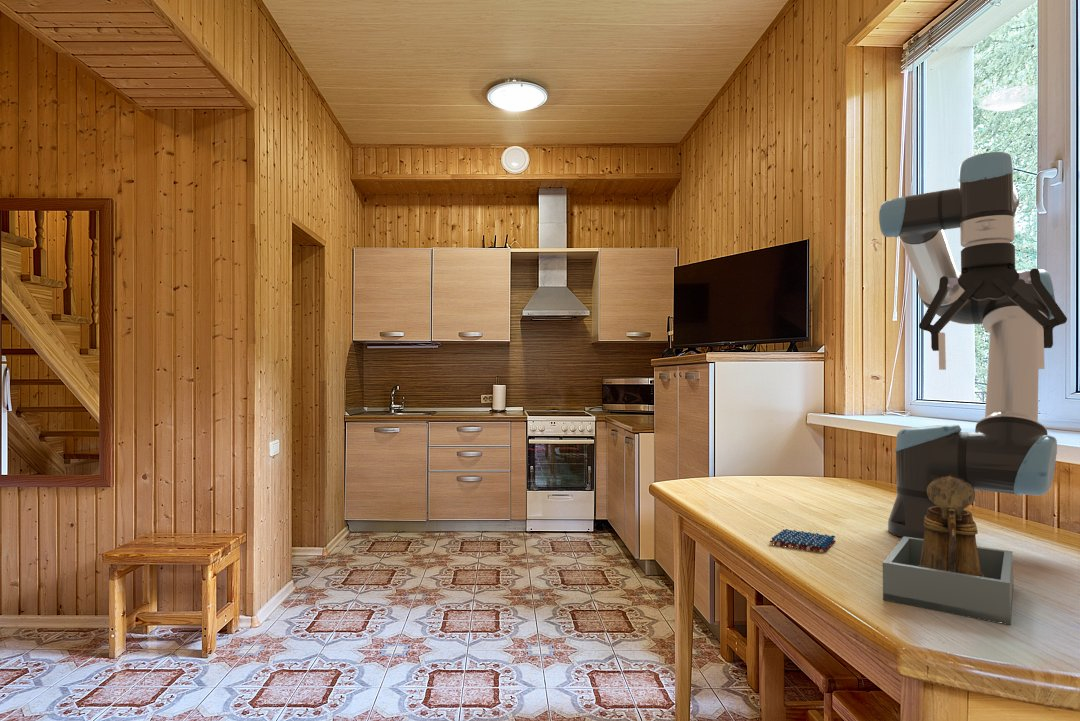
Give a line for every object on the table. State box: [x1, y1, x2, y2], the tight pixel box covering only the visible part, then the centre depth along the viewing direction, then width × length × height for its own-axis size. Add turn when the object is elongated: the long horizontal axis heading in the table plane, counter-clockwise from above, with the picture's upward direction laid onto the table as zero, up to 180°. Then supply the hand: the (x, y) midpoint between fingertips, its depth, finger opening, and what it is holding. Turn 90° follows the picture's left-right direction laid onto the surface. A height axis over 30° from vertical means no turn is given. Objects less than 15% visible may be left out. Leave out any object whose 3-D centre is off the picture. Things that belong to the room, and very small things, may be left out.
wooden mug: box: [918, 474, 984, 577], centre depth 95 cm, size 9×14×18 cm, turn 148°
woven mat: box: [769, 528, 837, 554], centre depth 123 cm, size 10×11×2 cm
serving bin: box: [882, 536, 1014, 626], centre depth 94 cm, size 20×15×6 cm
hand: (989, 369), depth 105 cm, fingers open, 13 cm apart
